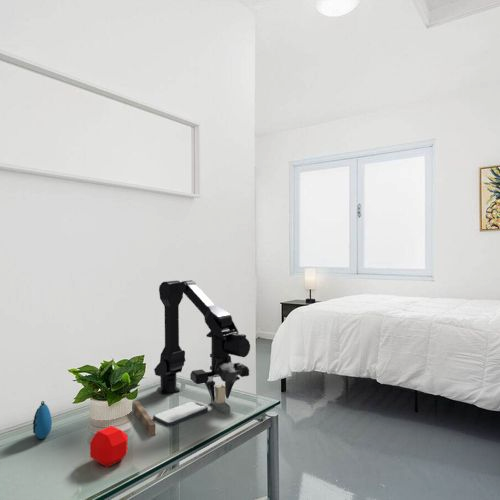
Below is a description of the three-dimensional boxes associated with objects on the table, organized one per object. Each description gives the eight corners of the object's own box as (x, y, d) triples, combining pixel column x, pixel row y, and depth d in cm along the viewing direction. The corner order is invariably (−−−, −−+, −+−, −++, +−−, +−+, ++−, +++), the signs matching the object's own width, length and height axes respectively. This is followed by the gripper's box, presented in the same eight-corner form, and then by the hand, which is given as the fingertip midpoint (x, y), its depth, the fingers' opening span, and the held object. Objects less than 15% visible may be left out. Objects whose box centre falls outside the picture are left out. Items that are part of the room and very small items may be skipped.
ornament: (35, 432, 123) (35, 397, 123) (53, 429, 125) (53, 395, 124) (30, 445, 115) (30, 407, 115) (49, 442, 117) (49, 405, 116)
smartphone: (168, 429, 127) (209, 412, 138) (168, 423, 127) (209, 407, 138) (151, 420, 133) (191, 405, 144) (151, 415, 133) (191, 400, 144)
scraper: (210, 403, 146) (210, 382, 145) (217, 402, 147) (217, 381, 147) (223, 413, 137) (223, 391, 137) (230, 412, 138) (230, 390, 138)
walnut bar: (133, 410, 139) (133, 401, 138) (138, 409, 139) (138, 400, 139) (150, 435, 121) (150, 425, 121) (155, 434, 122) (155, 424, 121)
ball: (133, 459, 108) (132, 429, 108) (104, 473, 101) (104, 441, 101) (113, 450, 113) (113, 421, 112) (85, 462, 106) (85, 431, 106)
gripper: (202, 361, 130) (202, 413, 130) (257, 354, 139) (257, 402, 139) (189, 353, 140) (189, 401, 140) (241, 346, 148) (241, 391, 149)
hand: (220, 399), depth 142 cm, fingers open, 5 cm apart
